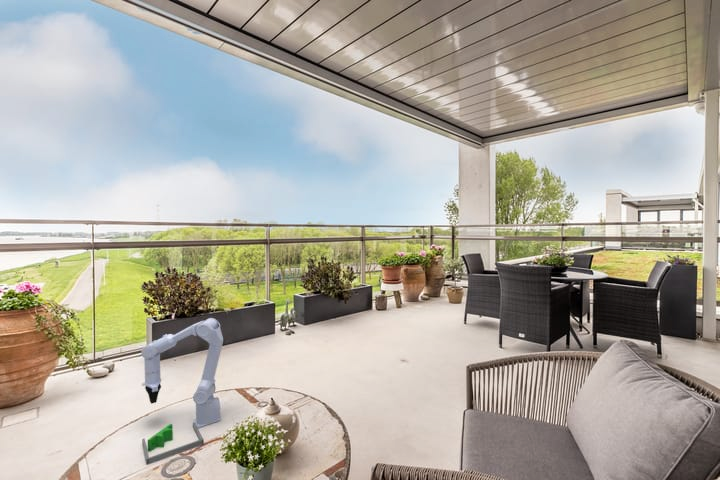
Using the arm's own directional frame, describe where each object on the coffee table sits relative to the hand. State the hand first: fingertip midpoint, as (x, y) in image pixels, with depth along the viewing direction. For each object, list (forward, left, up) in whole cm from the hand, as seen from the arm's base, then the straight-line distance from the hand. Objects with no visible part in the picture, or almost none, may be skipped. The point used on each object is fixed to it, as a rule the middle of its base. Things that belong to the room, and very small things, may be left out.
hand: (153, 402), depth 146 cm
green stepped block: (-1, +18, -10) cm, 21 cm away
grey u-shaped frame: (-4, +21, -9) cm, 23 cm away
